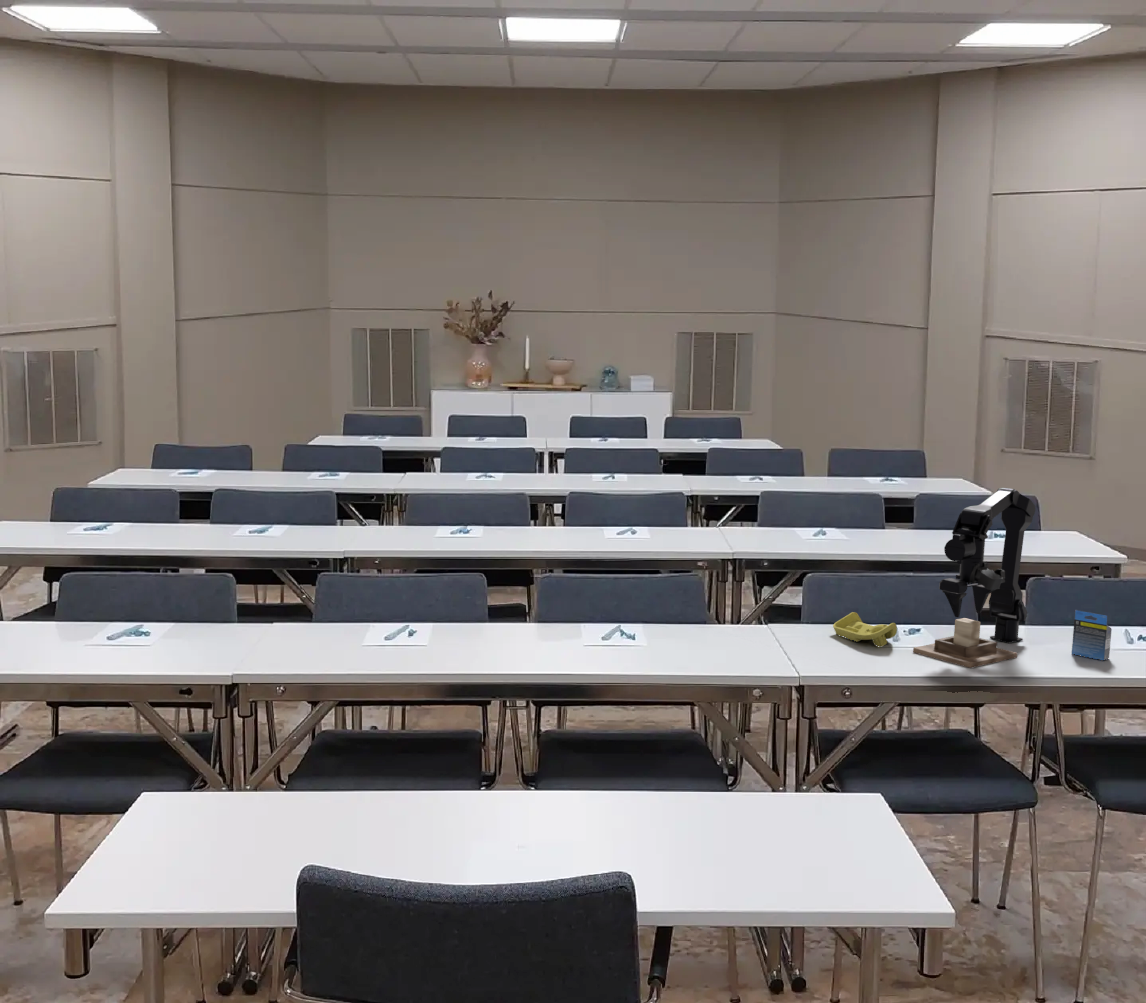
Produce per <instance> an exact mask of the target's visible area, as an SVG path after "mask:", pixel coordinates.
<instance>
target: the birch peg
mask: <svg viewBox="0 0 1146 1003" xmlns="http://www.w3.org/2000/svg"><path fill="white" fill-rule="evenodd" d="M953 632H954V633H953V636H954V644H958V645H962V646H965V647H969V646H974V645H979V638H980V635H981V621H979V620H974V619H970V618H966V617H963V618H957V619H955V620H954V630H953Z"/></svg>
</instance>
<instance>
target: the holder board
mask: <svg viewBox="0 0 1146 1003" xmlns="http://www.w3.org/2000/svg"><path fill="white" fill-rule="evenodd" d="M997 646H998V642H997V641H993V640H989V639H985V638H981V637H979V645H974V646H969V647H965V646H962V645H958V644H954V635H952V636H948V637H942V638H937V639H935V640H934V643H931V644H930V643H929V644H924V645H920V646H915V647H913V650H912V652H913V653H916V654H918V655H922V656H925V657H929V658H932V659H937V660H940V661H944V662H947V663H950V664H954V665H958V666H961V667H965V668H968V669H969V668H970V669H972V668H978V667H981V666H986V665H990V664H994V663H997V662H1002V661H1007V660H1011V659H1016V658H1018V652H1015V651H1011V650H1007V649H1004V648H999V647H997Z"/></svg>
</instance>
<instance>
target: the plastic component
mask: <svg viewBox="0 0 1146 1003" xmlns="http://www.w3.org/2000/svg"><path fill="white" fill-rule="evenodd" d="M832 627H833V629H834V632H835V634H836V635H837V634H838V635H840V636H844V637H846V638H848V639H847V640H849V639H850V640H849V641H852V640H854V641H853V642H855V641H856V643H859V642H860V641H862V640H865V641H866V640H867V641H868V640H869V641H870V640H872V643H873V644H874V646H875V645H877V646H879V647H878V648H883V647H884V646H885V645H887V644H888V640H889V639H892V638H894V637H895V636H896V634H897V633H898V632H897V631H898V629H897V624H896V623H895V622H891V623H890V624H882V623H881V624H880V623H879V624H876V625H872V624H868V623H864V622H863V620H862V618H861V617H860V616H859V614H858V613H857V612H855V611H854V612H853V611H852V612H849V614H847V615H846V616H844V617H842V618H840V619H839V620H837V621H835V622H834V624H833V625H832ZM840 636H839V637H840ZM846 638H845V639H846ZM877 646H876V647H877Z"/></svg>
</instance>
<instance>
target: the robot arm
mask: <svg viewBox="0 0 1146 1003" xmlns="http://www.w3.org/2000/svg"><path fill="white" fill-rule="evenodd" d="M1035 513H1036V505H1035V504H1034V502H1032V500H1031V499H1030V498H1029V497H1027V496H1025V495H1023V494H1022V493H1020V492H1019V491H1018V490H1017V489H1015V488H1007V487H1000V488H998V489H997V490H996V492H995V493H993V494H992V495H990V496H989V497H988V498H987V499H985V500H984V501H982V502H981V503H980V504H978V505H971V506H967V507H965V508H963V509H962V510H961V512H960V513H959V514H958V517H957V520H956V521H955V525H954V527H953V530H952V532H951V534H952V539H950V540H948V541H946V544H945V545H944V549H943V550H944V554H945V556H946V557H947V559H949V560H950V561H952V562H956V563H957V564H959V574H955V578H951V577H950V578H949V577H948V578H943V579H941V580H940V581H939V586H938V589H939V590H940V591H941V592H942V593H944V595H945V597H946V599H947V602H948V603H949V606H950V608H951V610H952V614H953V615H954V617H955V618H960V614H961V609H962V604H963V599H964V598H965V597H966V596H967V594H968V593H966V592H967V590H968V588H969V587H970V588H971V587H972V594H973V601H974V607H975V608H974V609H975V612H976V614H981V613H982V610H983V608H984V606H985V604H986V601H987V600H988V609H989V617H995V627H994V634H993V635H991V636H989V639H992V640H996V641H1000V642H1004V643H1007V644H1011V643H1016V642H1020V641H1023V637H1019V629H1020V625H1019V624H1020V622H1025V621H1026V619H1027V617H1028V610H1027V608H1026V605H1025V604H1024V601H1023V592H1022V590H1021V587H1020V585H1019V576H1020V568H1021V560H1022V555H1023V554H1022V552H1023V544H1024V536H1025V531H1026V530H1027V529H1028V528H1029V527H1030V525H1031V524H1032V522H1033V518H1034V516H1035ZM1000 514H1001V516H1000V517H1001V518H1000V519H1001V522H1002V524H1003V526H1004V527H1005V528H1004V529H1005V536H1004V542H1003V543H1004V544H1003V550H1002V558H1001V565H1000V566H1001V567H1000V568H995V570H994V569H989V567H988V565H989V564H988V561H986V560H984V558H985V547H986V544H985V543H986V539H988V538H989V536H988V534H987V533H988V532H989V530H990V528H991V527H992V526H993V519H994V518H996V517H997V516H998V515H1000ZM988 597H989V599H988Z"/></svg>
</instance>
